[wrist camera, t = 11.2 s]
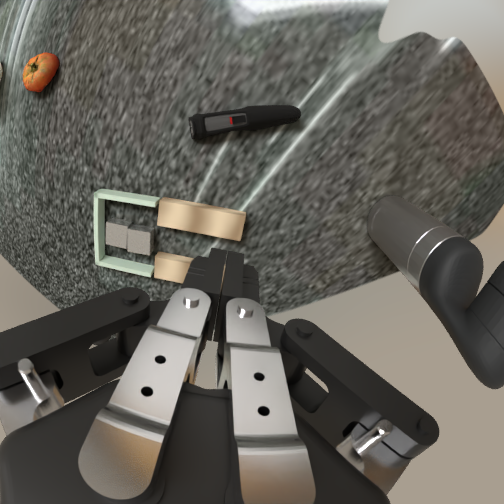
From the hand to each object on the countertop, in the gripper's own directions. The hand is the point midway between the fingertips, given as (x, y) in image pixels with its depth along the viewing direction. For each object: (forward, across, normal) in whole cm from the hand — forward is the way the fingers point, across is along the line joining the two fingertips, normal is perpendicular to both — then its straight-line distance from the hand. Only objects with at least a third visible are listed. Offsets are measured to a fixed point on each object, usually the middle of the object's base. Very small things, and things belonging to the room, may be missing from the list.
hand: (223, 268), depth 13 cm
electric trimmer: (+30, +2, -8) cm, 30 cm away
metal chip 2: (+29, +14, +14) cm, 35 cm away
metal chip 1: (+29, +18, +13) cm, 37 cm away
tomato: (+29, +39, -14) cm, 51 cm away
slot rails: (+29, +4, +13) cm, 32 cm away
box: (+29, +17, +13) cm, 36 cm away
